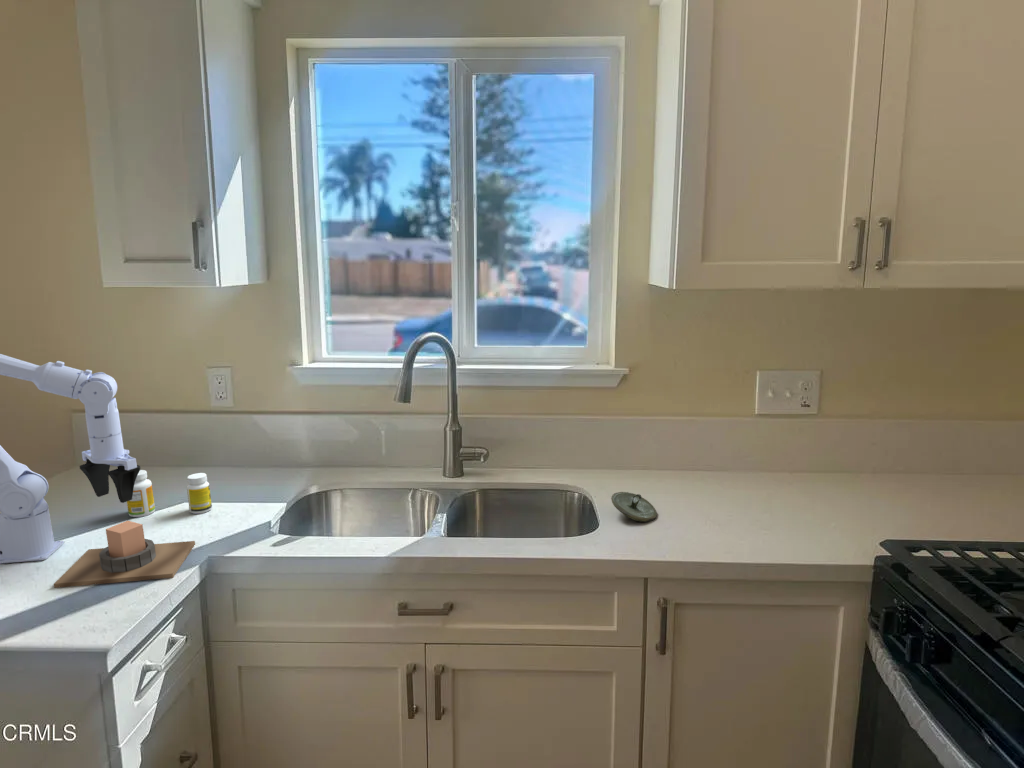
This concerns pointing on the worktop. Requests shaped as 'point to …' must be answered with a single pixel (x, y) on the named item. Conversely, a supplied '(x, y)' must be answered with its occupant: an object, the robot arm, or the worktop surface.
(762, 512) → the worktop surface
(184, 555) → the collar board
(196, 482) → the supplement bottle
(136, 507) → the supplement bottle
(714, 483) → the worktop surface
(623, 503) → the lid
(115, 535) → the peg block
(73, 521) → the worktop surface
